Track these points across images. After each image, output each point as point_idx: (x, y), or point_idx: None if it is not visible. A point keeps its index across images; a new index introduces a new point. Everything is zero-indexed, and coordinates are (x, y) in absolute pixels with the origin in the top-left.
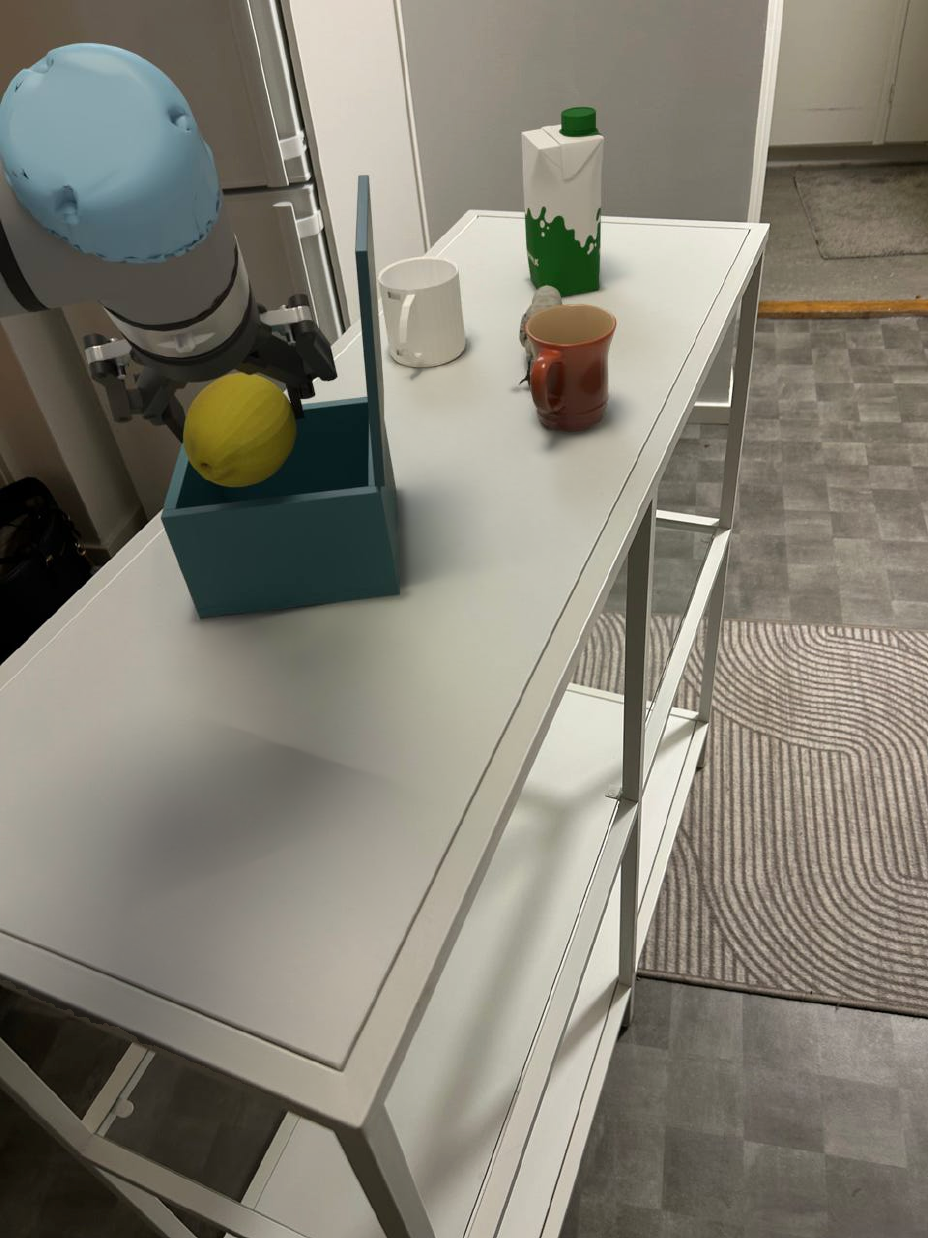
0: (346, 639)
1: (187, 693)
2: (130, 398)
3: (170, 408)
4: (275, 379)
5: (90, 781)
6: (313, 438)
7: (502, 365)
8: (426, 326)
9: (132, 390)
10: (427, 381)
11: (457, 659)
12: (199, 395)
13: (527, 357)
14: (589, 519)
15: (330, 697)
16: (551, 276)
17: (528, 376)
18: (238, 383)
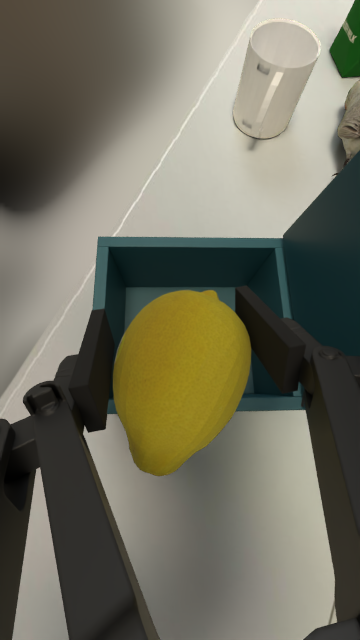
0: (225, 445)
1: (112, 490)
2: (25, 457)
3: (100, 419)
4: (315, 463)
5: (48, 581)
6: (210, 262)
7: (315, 148)
8: (277, 105)
9: (27, 445)
10: (262, 155)
11: (306, 480)
12: (140, 361)
13: (348, 155)
14: None
15: (219, 509)
16: (358, 57)
17: None
18: (205, 359)
